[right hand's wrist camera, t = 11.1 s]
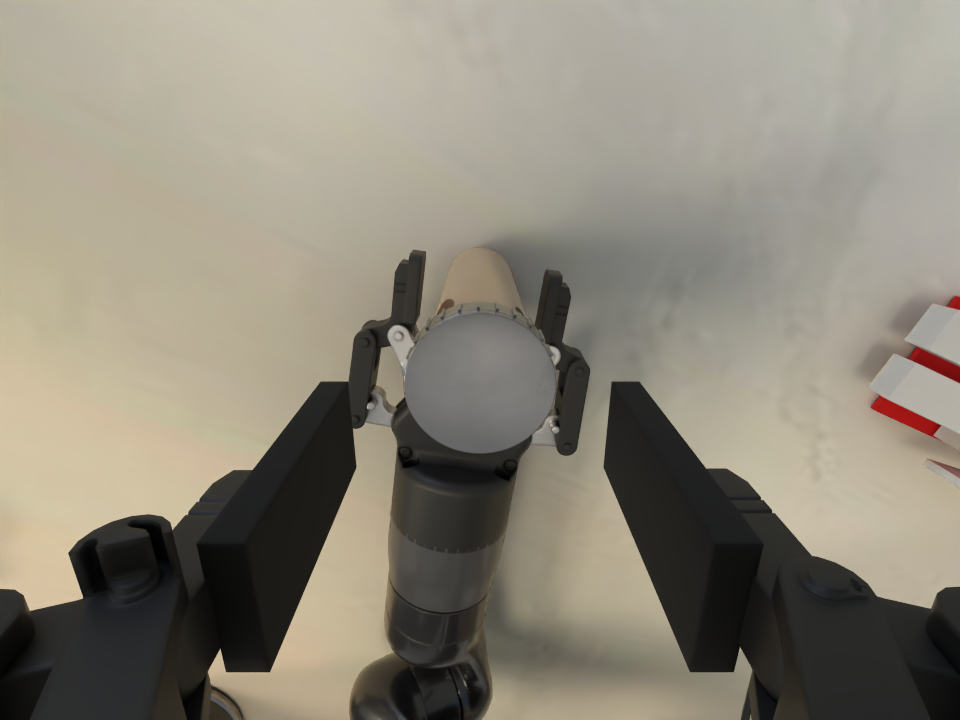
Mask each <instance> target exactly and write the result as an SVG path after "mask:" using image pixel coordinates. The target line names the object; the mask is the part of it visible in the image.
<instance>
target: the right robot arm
mask: <svg viewBox="0 0 960 720" xmlns="http://www.w3.org/2000/svg"><path fill="white" fill-rule="evenodd" d="M355 469H356V458H355V447H354V437H353V427H352V416H351V406H350V395H349V385H348V382H320V383H319V385H318V386H317V387H316V389H315V390H314V391H313V392H312V394H311V395H310V396H309V398H308V399H307V400H306V402H305V403H304V404H303V405H302V407H301V408H300V409H299V411H298V412H297V413H296V415H295V416H294V417H293V418H292V420H291V421H290V422H289V424H288V425H287V426H286V428H285V429H284V430H283V431H282V433H281V434H280V435H279V437H278V438H277V439H276V441H275V442H274V443H273V444H272V446H271V447H270V448H269V450H268V451H267V452H266V454H265V455H264V456H263V457H262V459H261V460H260V461H259V463H258V464H257V465H256V467H255V468H254V469H253V470H233V471H232V472H230V473H229V474H227V475H225V476H224V477H222V478H221V479H219V480H218V481H216V482H215V483H213V484H212V485H211V486H210V488H209V489H208V490H207V491H206V492H205V493H204V494H203V496H202V497H201V498H200V501H199V502H197V503H196V504H195V505H194V506H193V507H192V508H191V509H190V511H189V513H188V515H185V516H184V518H183V519H182V520H181V521H180V522H179V523H178V525H177V526H176V527H175V528H174V529H173V530H172V528H171V524H170V522H169V521H168V520H166V519H165V518H164V517H162V516H156V515H149V514H148V515H138V516H130V517H127V518H123V519H120V520H116V521H113V522H111V523H108V524H106V525H104V526H102V527H100V528H98V529H96V530H93V531H92V532H91V533H89V534H88V535H86V536H85V537H84V538H82V539H81V540H79V541H78V542H77V543H76V544H75V546H74V547H73V548H72V549H71V550H70V552H69V553H68V554H69V557H70V560H71V563H72V565H73V568H74V571H75V574H76V577H77V580H78V583H79V586H80V589H81V592H82V595H83V599H80V600H77V601H73V602H68V603H64V604H59V605H55V606H50V607H46V608H42V609H37V610H33V611H29V608H28V606H27V603H26V601H25V598H24V595H22V594H20V593H19V592H17V591H16V590H9V589H0V720H208V719H209V710H210V701H211V692H212V691H211V684H210V679H209V675H208V670H209V668H210V666H211V664H212V663H213V661H214V659H215V657H216V655H217V653H218V652H219V650H220V648H221V652H222V656H223V661H224V665H225V669H226V672H270V671H271V668H272V666H273V664H274V661H275V659H276V656H277V654H278V652H279V649H280V647H281V645H282V642H283V640H284V638H285V635H286V633H287V630H288V628H289V626H290V623H291V621H292V619H293V616H294V614H295V611H296V609H297V607H298V604H299V602H300V600H301V597H302V595H303V593H304V590H305V588H306V585H307V583H308V581H309V578H310V576H311V574H312V571H313V569H314V566H315V564H316V562H317V559H318V557H319V555H320V552H321V550H322V548H323V545H324V543H325V540H326V538H327V536H328V533H329V531H330V529H331V526H332V524H333V522H334V519H335V517H336V514H337V512H338V510H339V507H340V505H341V503H342V500H343V498H344V495H345V493H346V491H347V488H348V486H349V484H350V481H351V479H352V477H353V474H354V472H355ZM604 469H605V472H606V474H607V477H608V479H609V481H610V484H611V486H612V488H613V491H614V493H615V495H616V498H617V500H618V503H619V505H620V507H621V510H622V512H623V514H624V517H625V519H626V522H627V524H628V526H629V529H630V531H631V533H632V536H633V538H634V540H635V543H636V545H637V548H638V550H639V552H640V555H641V557H642V559H643V562H644V564H645V566H646V569H647V571H648V574H649V576H650V578H651V581H652V583H653V585H654V588H655V590H656V593H657V595H658V597H659V600H660V602H661V604H662V607H663V609H664V611H665V614H666V616H667V619H668V621H669V623H670V626H671V628H672V630H673V633H674V635H675V638H676V640H677V642H678V645H679V647H680V649H681V652H682V654H683V656H684V659H685V661H686V664H687V666H688V668H689V671H690V672H734V669H735V665H736V661H737V656H738V652H739V648H740V647H741V649H742V651H743V653H744V654H745V656H746V658H747V660H748V662H749V664H750V665H751V667H752V669H753V671H752V675H751V679H750V683H749V687H748V691H747V694H746V698H745V702H744V706H743V710H742V716H741V720H749V719H750V715H751V718H752V720H960V587H947V588H945V589H943V590H942V591H940V592H939V593H937V595H936V598H935V600H934V603H933V606H932V608H931V609H929V608H924V607H920V606H915V605H911V604H906V603H902V602H897V601H893V600H888V599H884V598H881V597H877V596H876V595H875V593H874V592H873V590H872V589H871V588H870V586H869V585H868V584H867V583H866V582H865V581H864V580H862V579H861V578H860V577H859V576H857V575H856V574H855V573H854V572H852V571H850V570H848V569H846V568H845V567H843V566H841V565H839V564H837V563H835V562H832V561H829V560H826V559H822V558H819V557H815V556H811V554H810V553H809V552H808V551H807V550H806V549H805V547H804V546H803V545H802V544H801V543H800V542H799V541H798V539H797V538H796V537H795V536H794V535H793V534H792V533H791V531H790V530H789V529H788V528H787V527H786V526H785V524H784V523H783V522H782V521H781V520H780V519H779V518H778V516H777V515H776V514H775V513H772V510H771V508H770V507H769V506H768V505H767V504H766V503H765V502H764V500H761V497H760V496H759V495H758V493H757V492H756V491H755V490H754V489H753V488H752V487H751V485H750V484H749V483H748V482H747V481H745V480H744V479H742V478H741V477H739V476H737V475H736V474H734V473H733V472H731V471H730V470H728V469H706V468H705V467H704V465H703V464H702V463H701V461H700V460H699V459H698V457H697V456H696V455H695V454H694V452H693V451H692V450H691V448H690V447H689V446H688V444H687V443H686V442H685V441H684V439H683V438H682V437H681V435H680V434H679V433H678V431H677V430H676V429H675V428H674V426H673V425H672V424H671V422H670V421H669V420H668V418H667V417H666V416H665V415H664V413H663V412H662V411H661V409H660V408H659V407H658V405H657V404H656V403H655V402H654V400H653V399H652V398H651V396H650V395H649V394H648V392H647V391H646V390H645V389H644V387H643V386H642V385H641V383H640V382H612V385H611V395H610V406H609V416H608V427H607V437H606V447H605V458H604Z"/></svg>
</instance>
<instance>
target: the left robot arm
mask: <svg viewBox="0 0 960 720" xmlns="http://www.w3.org/2000/svg"><path fill="white" fill-rule="evenodd" d="M425 261H426V252H425V251H418V250H413V251H412V252H411V253H410V256H409V260H405V259H403V260H402V261H401V262H400V264H399V266H398V268H397V270H396V271H395V279H394V291H393V302H392V314H391V317H390V318H388V319H385V320H380V321H376V320H369V321H367V322H366V323H365V324H364V326H363V327H362V329H361V331H359V332H358V333H357V335H356V336H355V338H354V343H353V351H352V359H351V367H350V375H349V384H348V385H349V395H350V406H351V416H352V427H353V428H354V429H357V428H360V427H362V426H363V425H364V423H365V422H366V423H372V424H377V425H383V426H389V427H391V428H392V431H393V433H394V435H395V437H396V440H397V455H396V465H395V476H394V486H393V496H392V506H391V513H390V515H391V517H390V527H389V537H388V555H389V575H388V585H387V595H386V606H385V618H384V621H385V632H386V637H387V640H388V642H389V644H390V646H391V648H392V650H393V651H394V653H392V654H389V655H387V656H385V657H383V658H380V659H378V660H376V661H374V662H372V663H371V664H369V665H368V666H366V667H365V668H364V669H363V670H362V671H361V672H360V674H359V675H358V677H357V679H356V680H355V682H354V685H353V688H352V691H351V696H350V703H349V713H350V720H482V718H483V717H484V715H485V714H486V712H487V710H488V708H489V706H490V703H491V700H492V694H493V685H492V677H491V672H490V667H489V662H488V655H487V645H486V637H485V628H484V619H485V615H486V609H487V604H488V598H489V593H490V588H491V583H492V579H493V576H494V574H495V571H496V569H497V566H498V563H499V560H500V556H501V551H502V546H503V541H504V536H505V531H506V526H507V520H508V515H509V510H510V505H511V499H512V494H513V489H514V484H515V479H516V474H517V469H518V464H519V460H520V458H521V456H522V454H523V453H524V452H525V451H526V450H527V449H528V447H529V446H530V445H544V446H556V447H557V450H558V452H559V453H560V454H562V455H565V456H568V455H571V454H573V453H574V452H575V451H576V449H577V445H578V439H579V433H580V427H581V422H582V416H583V410H584V404H585V398H586V392H587V386H588V380H589V374H590V368H589V366H588V364H587V362H586V361H585V359H584V357H583V355H582V354H581V352H580V351H579V350H578V349H576V348H571V347H569V346H567V345H565V344H564V343H562V338H563V334H564V329H565V324H566V319H567V314H568V309H569V305H570V300H571V295H570V290H569V287H568V286H567V285H566V283H563V282H562V275H561V274H560V272H559V271H554V270H547V269H546V270H545V274H544V278H543V284H542V289H541V295H540V300H539V305H538V311H537V316H536V321H535V327H536V328H537V329H538V330H539V329H541V331H542V333H543V336H544V338H545V343H546V345H547V344H549V346H550V349H551V351H552V354H553V356H552V357H551V358H552V360H553V362H554V365H555V367H556V369H557V370H559V371H560V373H559V379H558V386H557V393H556V400H555V406H554V409H551V410H550V412H549V414H548V416H547V418H546V419H545V421H544V422H543V423H542V425H541V426H540V427H539V428H538V429H537V430H536V431H535V433H533V434H532V435H531V436H530V437H529V438H527V439H526V440H524V441H523V442H521V443H519V444H517V445H515V446H513V447H511V448H508V449H505V450H503V451H498V452H494V453H485V454H477V453H467V452H462V451H458V450H454V449H452V448H449V447H447V446H445V445H443V444H441V443H439V442H437V441H436V440H434V439H433V438H431V437H430V436H429V435H428V434H427V433H426V432H425V431H423V429H422V428H421V427H420V426H419V425H418V424H417V422H416V421H415V419H414V418H413V416H412V414H411V412H410V410H409V408H408V405H407V402H406V399H405V397H404V398H403V399H402V400H401V401H400V402H399V403H398V405H397V406H396V407H394V406H391V405H390V404H389V403H388V402H387V399H386V392H385V390H384V389H383V388H381V387H379V386H376V381H377V374H378V367H379V360H380V353H381V348H382V347H387V346H392V348H393V350H394V352H395V354H396V356H397V358H398V360H399V362H400V364H401V367H402V372H404V370H405V367H406V364H407V361H408V360H407V359H406V356H407V354H408V351H409V349H410V347H413V345H414V343H413V342H414V339H415V337H416V334H417V332H419V330H418V328H417V325H416V322H417V320H418V318H419V315H420V308H421V299H422V289H423V280H424V270H425ZM211 691H212V692H211V701H210V710H209V719H208V720H242V718H241V715H240V713H239V711H238V709H237V707H236V706H235V705H234V704H233V703H232V702H231V701H230V700H229V699H228V698H227V697H226V696H224V695H223V694H221V693H219V692H218V691H216V690H213V689H211Z"/></svg>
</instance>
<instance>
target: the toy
mask: <svg viewBox="0 0 960 720" xmlns="http://www.w3.org/2000/svg"><path fill="white" fill-rule="evenodd" d="M904 340H905V341H907V342H909V343H911V344H913V345H915V346H917V347H916V349H915V350H914V351H913V353H912V354H911V355H910V357H909V358H908V359H906V358H904V357H902V356H900V355H897V354H895V353H894V354H893V355H892V356H891V358H890V359H889V360H888V361H887V363H886V364H885V365H884V367H883V368H882V369H881V370H880V372H879V373H878V374H877V376H876V377H875V378H874V379H873V381H872V382H871V383H870V385H869V386H868V387H867V388H869V389H870V390H872V391H874V392H875V393H877V394H879V395H880V396H879V398H878V399H877V400H876V402H875V403H874V404H873V406H872V407H871V408H872V409H873V410H875V411H877V412H879V413H882V414H884V415H886V416H888V417H890V418H892V419H895V420H897V421H899V422H901V423H903V424H906V425H908V426H910V427H912V428H914V429H916V430H919V431H921V432H923V433H925V434H927V435H930V436H932V437H934V438H936V439H938V440H941V441H943V442H945V443H946V444H948V445H950V446H951V447H953V448H955V449H956V450H958V451H960V297H957V296H955V297H954V298H953V300H952V301H951V302H950V304H949V305H948V306H947V307H946V306H942V305H938V304H934V303H932V305H931V306H930V307H929V309H928V310H927V311H926V312H925V314H924V315H923V316H922V318H921V319H920V320H919V321H918V323H917V324H916V325H915V327H914V328H913V329H912V330H911V332H910V333H909V334H908V336H907V337H906V338H905V339H904ZM923 466H925V467H927V468H928V469H930V470H931V471H933V472H935V473H936V474H938V475H939V476H941V477H943V478H944V479H946V480H947V481H949V482H950V483H952V484H954V485H955V486H957V487H958V488H960V469H957V468H954V467H951V466H948V465H945V464H942V463H939V462H936V461H933V460H930V459H926V461H925V462H924V464H923Z"/></svg>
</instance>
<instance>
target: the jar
mask: <svg viewBox="0 0 960 720" xmlns="http://www.w3.org/2000/svg"><path fill="white" fill-rule="evenodd" d="M477 300H480V302H491V303H495V301H497V302H498V304H500V305H504V306H507V307H509V308H511V309H512V307H514V308H515V309H516V311H517V312H519V313H520V314H522V315H523V316H525V313H524V310H523V307H522V304H521V301H520V298H519V295H518V291H517V288H516V285H515V282H514V279H513V276H512V273H511V270H510V267H509V265H508V263H507V261H506V260H505V259H504V258H503V257H502V256H501V255H500V254H499V253H497V252H496V251H494V250H492V249H489V248H483V247H477V248H471V249H468V250H466V251H464V252H462V253H461V254H460V255H459V256H458V257H457V258H456V259H455V260H454V261H453V263H452V265H451V267H450V270H449V273H448V276H447V279H446V282H445V285H444V288H443V291H442V295H441V298H440V301H439V304H438V307H437V310H436V313H435V316H437V315H438V314H439V313H441V311H442V309H444V308H445V310H447V309H448V308H451V307H454V306H456V305H458V304H459V302H462V304H464V303H469V302H477ZM435 316H434V317H435ZM525 317H526V316H525Z"/></svg>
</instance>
